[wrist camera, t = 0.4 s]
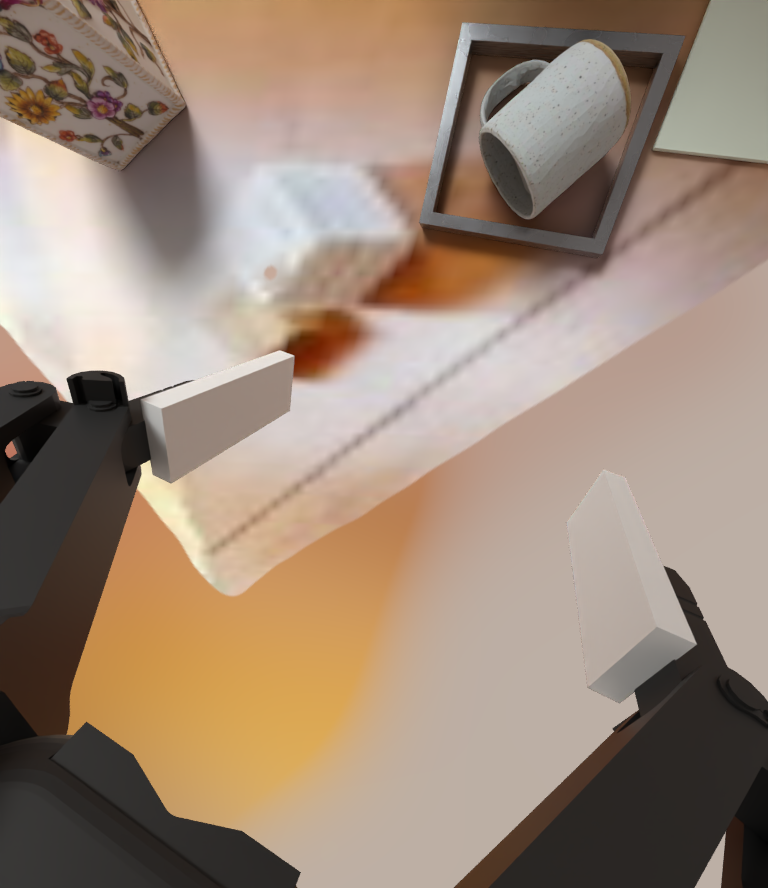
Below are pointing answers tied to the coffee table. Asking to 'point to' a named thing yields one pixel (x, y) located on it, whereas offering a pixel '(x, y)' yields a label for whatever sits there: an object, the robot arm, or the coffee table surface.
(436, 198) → the square frame
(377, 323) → the coffee table surface
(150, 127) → the decorative jar
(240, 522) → the coffee table surface
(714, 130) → the grey-green mat
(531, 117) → the ceramic mug
